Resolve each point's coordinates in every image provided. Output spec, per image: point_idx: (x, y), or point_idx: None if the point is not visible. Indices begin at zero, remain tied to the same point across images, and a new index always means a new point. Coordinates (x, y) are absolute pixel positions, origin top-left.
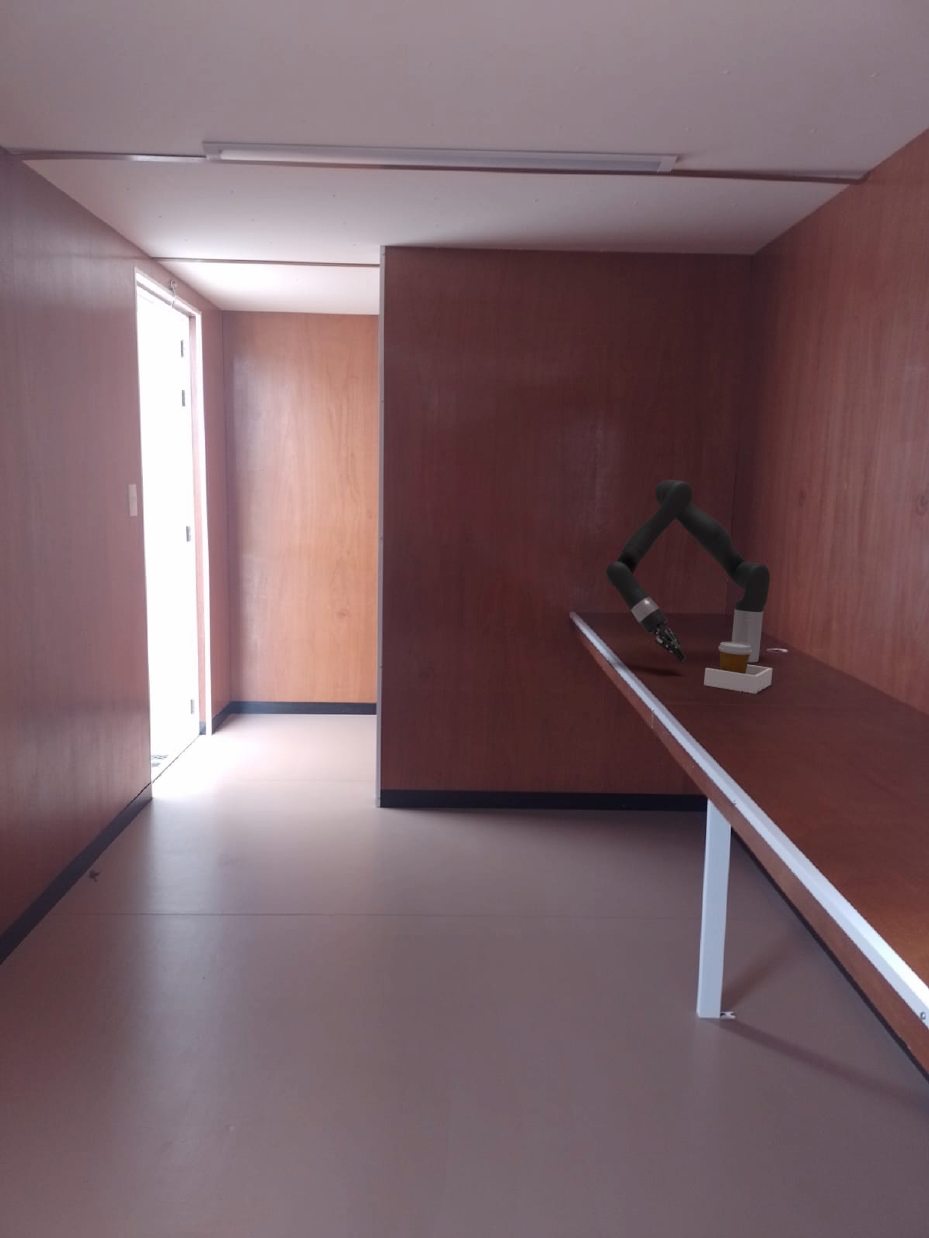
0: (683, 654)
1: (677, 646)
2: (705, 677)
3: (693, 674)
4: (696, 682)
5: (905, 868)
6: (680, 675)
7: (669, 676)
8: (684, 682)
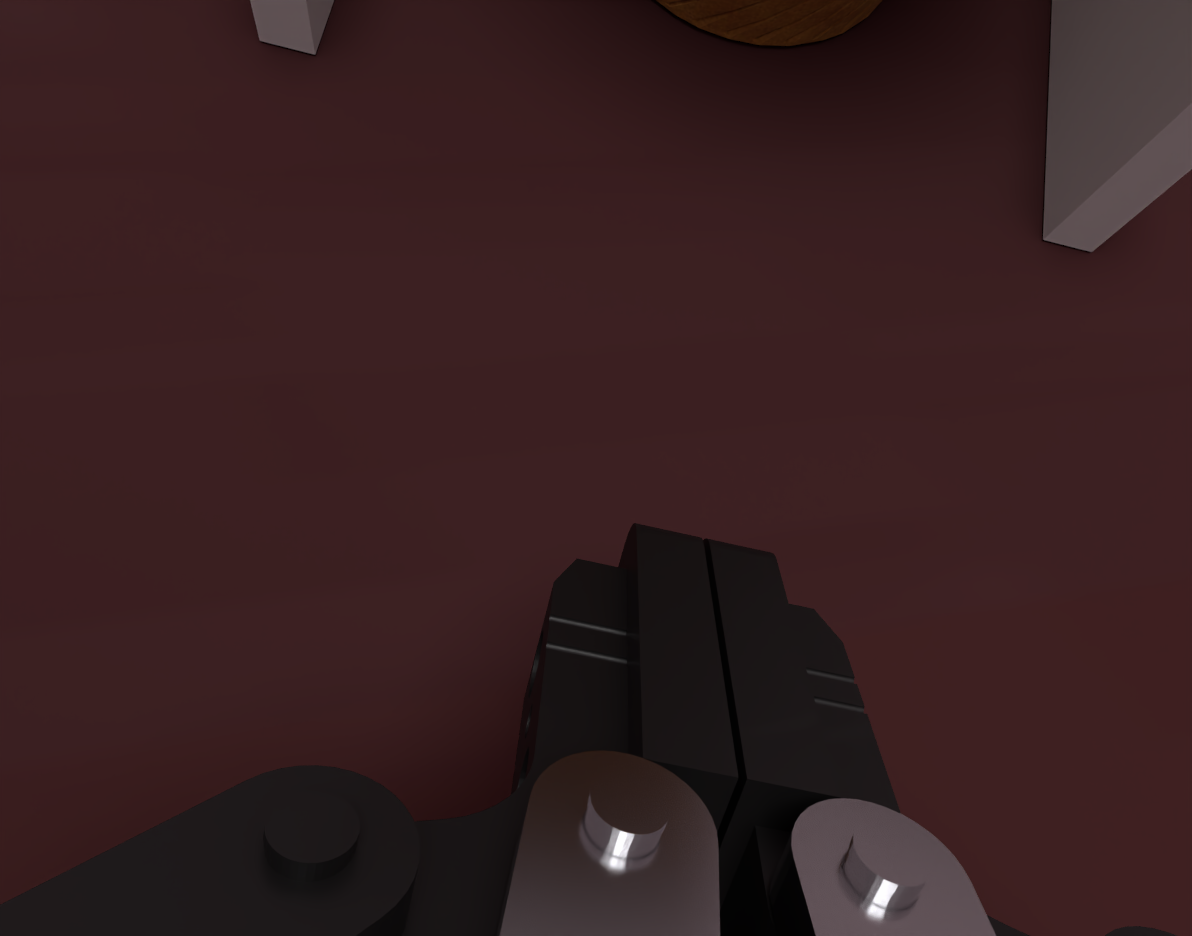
0: (718, 589)
1: (701, 853)
2: (1177, 169)
3: (343, 480)
4: (990, 365)
5: None
6: None
7: None
8: (1130, 538)
